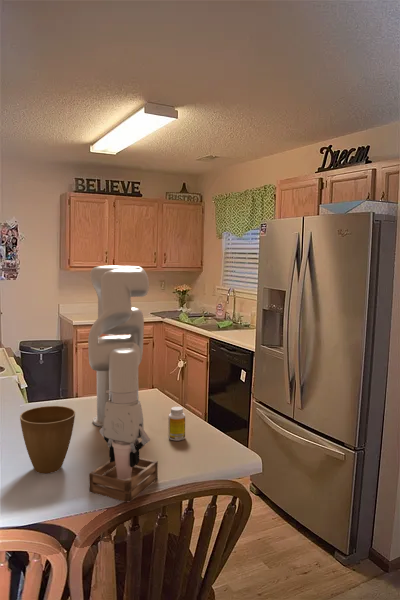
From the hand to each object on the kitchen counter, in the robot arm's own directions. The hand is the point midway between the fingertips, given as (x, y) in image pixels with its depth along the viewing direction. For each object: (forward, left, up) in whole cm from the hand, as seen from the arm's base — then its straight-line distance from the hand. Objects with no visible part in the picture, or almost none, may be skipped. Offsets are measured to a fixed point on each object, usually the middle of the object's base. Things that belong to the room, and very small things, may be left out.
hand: (124, 462), depth 126 cm
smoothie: (0, 0, -4) cm, 4 cm away
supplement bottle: (-35, -3, -7) cm, 36 cm away
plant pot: (+1, -25, -7) cm, 26 cm away
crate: (0, 0, -6) cm, 6 cm away
